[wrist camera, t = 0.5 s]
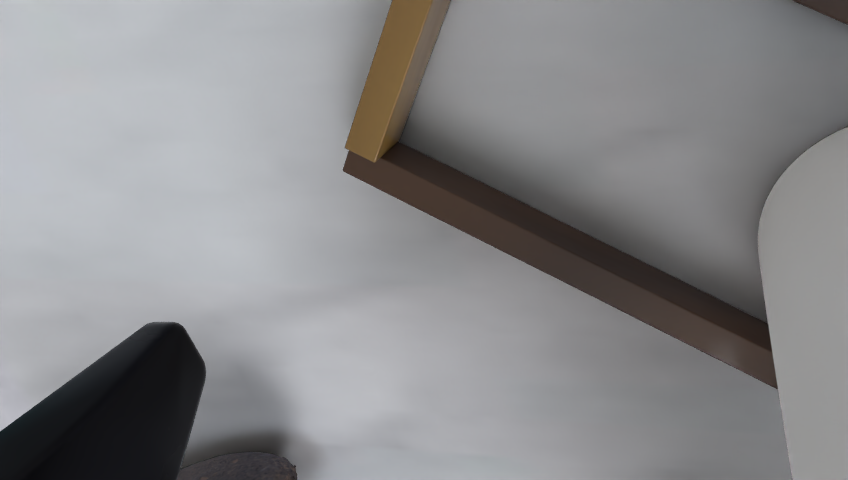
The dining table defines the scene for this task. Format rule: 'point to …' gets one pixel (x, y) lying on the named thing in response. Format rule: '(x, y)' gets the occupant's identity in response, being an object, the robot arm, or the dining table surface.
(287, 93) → the dining table surface
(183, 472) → the perforated stone tool
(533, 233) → the brown wooden bent bar
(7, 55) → the dining table surface
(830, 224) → the can
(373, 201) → the dining table surface
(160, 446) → the robot arm
